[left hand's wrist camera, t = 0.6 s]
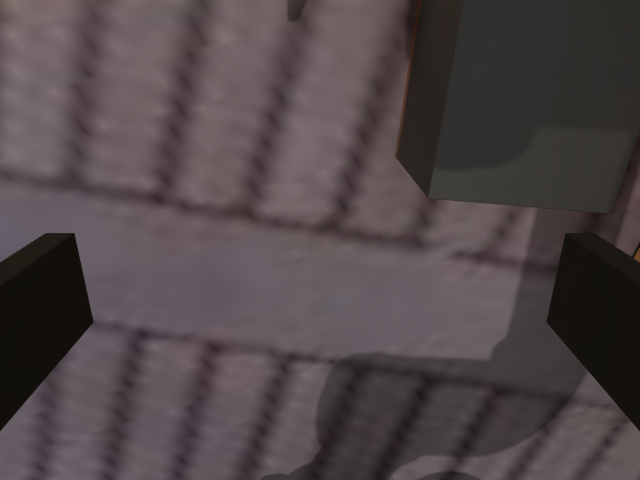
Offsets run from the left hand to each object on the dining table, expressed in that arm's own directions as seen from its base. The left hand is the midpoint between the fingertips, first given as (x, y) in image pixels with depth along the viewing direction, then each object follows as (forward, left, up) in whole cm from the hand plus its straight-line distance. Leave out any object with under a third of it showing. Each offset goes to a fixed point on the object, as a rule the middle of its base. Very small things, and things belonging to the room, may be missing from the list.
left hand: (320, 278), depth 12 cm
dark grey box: (+8, -12, -25) cm, 29 cm away
